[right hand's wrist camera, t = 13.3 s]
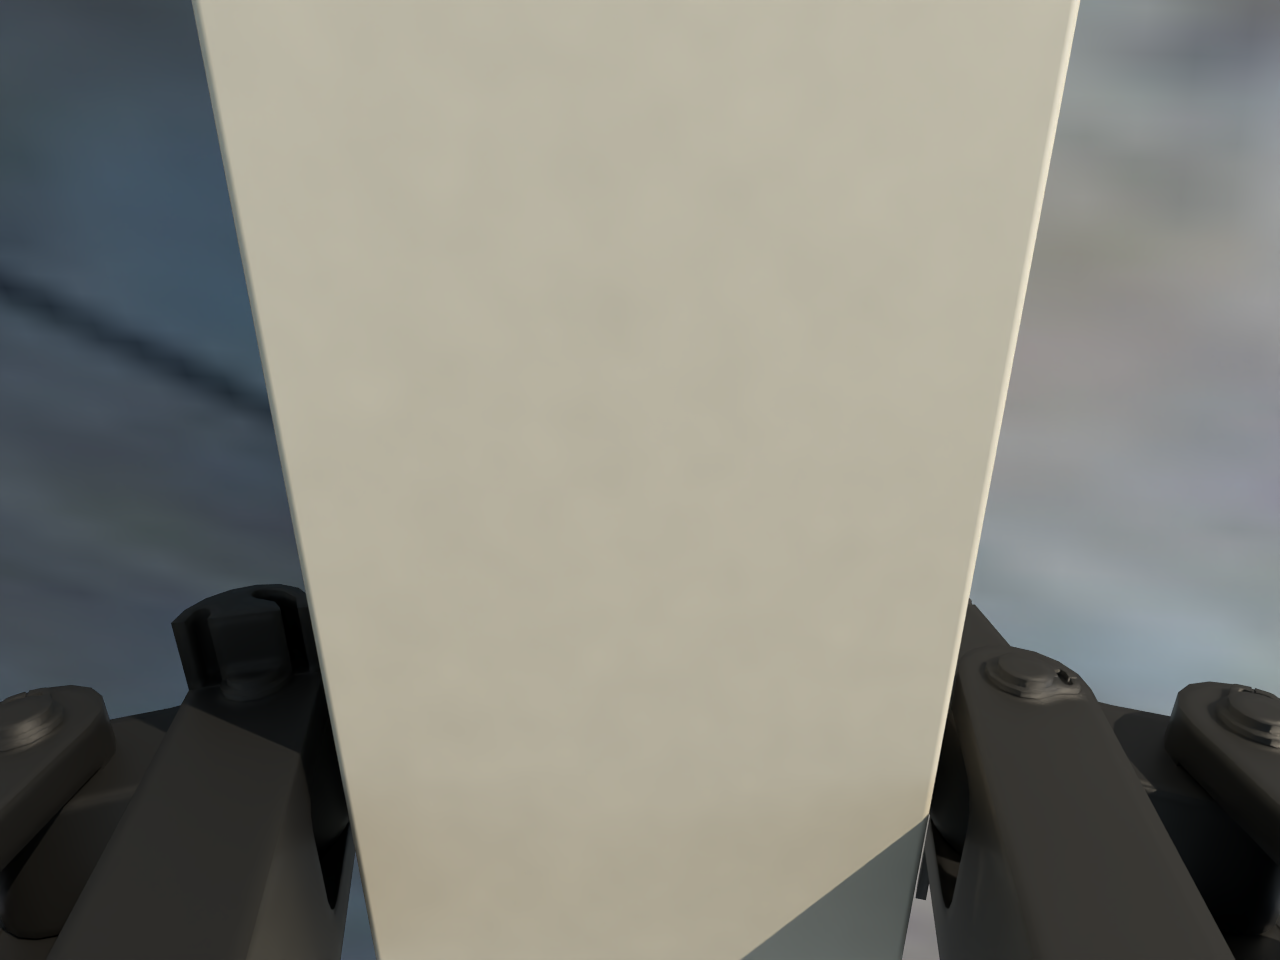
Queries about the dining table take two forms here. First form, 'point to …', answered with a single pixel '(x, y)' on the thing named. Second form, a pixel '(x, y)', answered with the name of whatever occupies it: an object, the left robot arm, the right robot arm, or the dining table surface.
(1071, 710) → the right robot arm
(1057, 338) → the dining table surface
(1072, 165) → the dining table surface
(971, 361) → the beam
